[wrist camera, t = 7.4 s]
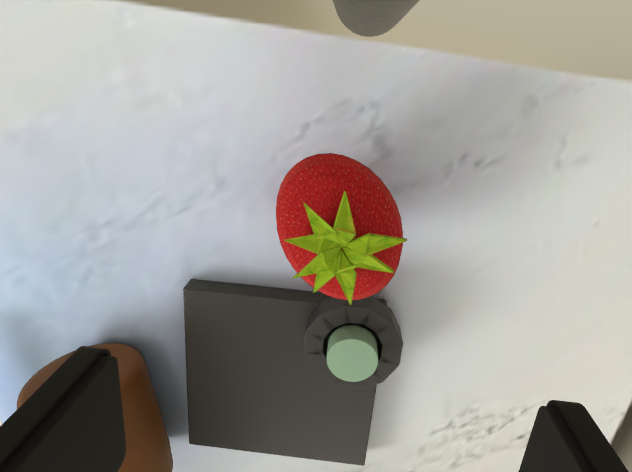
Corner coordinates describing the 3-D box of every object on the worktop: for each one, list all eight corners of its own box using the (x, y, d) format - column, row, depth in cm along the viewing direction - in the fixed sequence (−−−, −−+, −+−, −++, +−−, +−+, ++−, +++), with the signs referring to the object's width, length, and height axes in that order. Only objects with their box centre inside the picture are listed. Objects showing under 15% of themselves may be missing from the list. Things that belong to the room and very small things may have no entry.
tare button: (330, 321, 27) (328, 336, 25) (379, 327, 27) (381, 342, 25) (326, 362, 28) (324, 379, 26) (373, 368, 28) (374, 384, 26)
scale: (190, 265, 29) (172, 286, 26) (403, 287, 28) (408, 311, 26) (195, 430, 34) (181, 462, 31) (376, 452, 33) (378, 487, 31)
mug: (60, 321, 35) (94, 415, 39) (-49, 380, 29) (3, 486, 32) (167, 350, 29) (197, 458, 33) (60, 431, 23) (109, 555, 27)
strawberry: (362, 118, 25) (367, 148, 16) (411, 233, 27) (441, 320, 18) (270, 161, 26) (224, 213, 17) (324, 268, 28) (309, 366, 19)
